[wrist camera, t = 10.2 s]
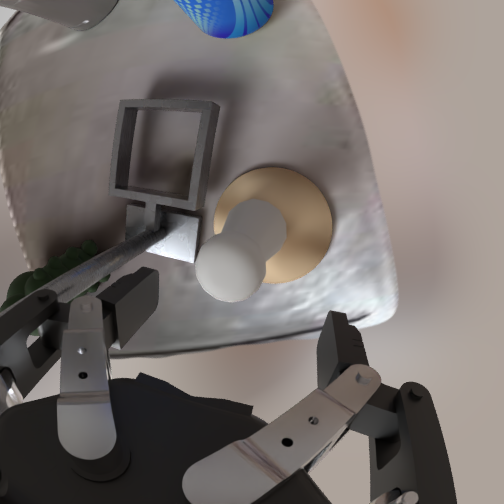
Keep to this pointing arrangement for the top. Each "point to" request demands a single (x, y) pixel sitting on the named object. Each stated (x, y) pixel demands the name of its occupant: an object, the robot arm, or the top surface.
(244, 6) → the beer can
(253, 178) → the disc
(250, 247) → the salt shaker
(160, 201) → the ring stand
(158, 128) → the top surface
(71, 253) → the toy figurine
